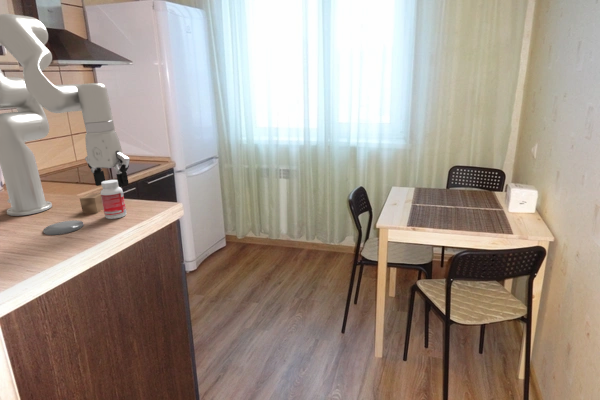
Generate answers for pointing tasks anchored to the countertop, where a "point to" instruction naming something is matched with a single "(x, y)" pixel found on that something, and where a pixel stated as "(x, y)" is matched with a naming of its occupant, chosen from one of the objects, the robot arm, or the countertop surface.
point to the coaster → (63, 227)
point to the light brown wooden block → (91, 203)
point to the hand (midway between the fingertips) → (112, 185)
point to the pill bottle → (112, 199)
